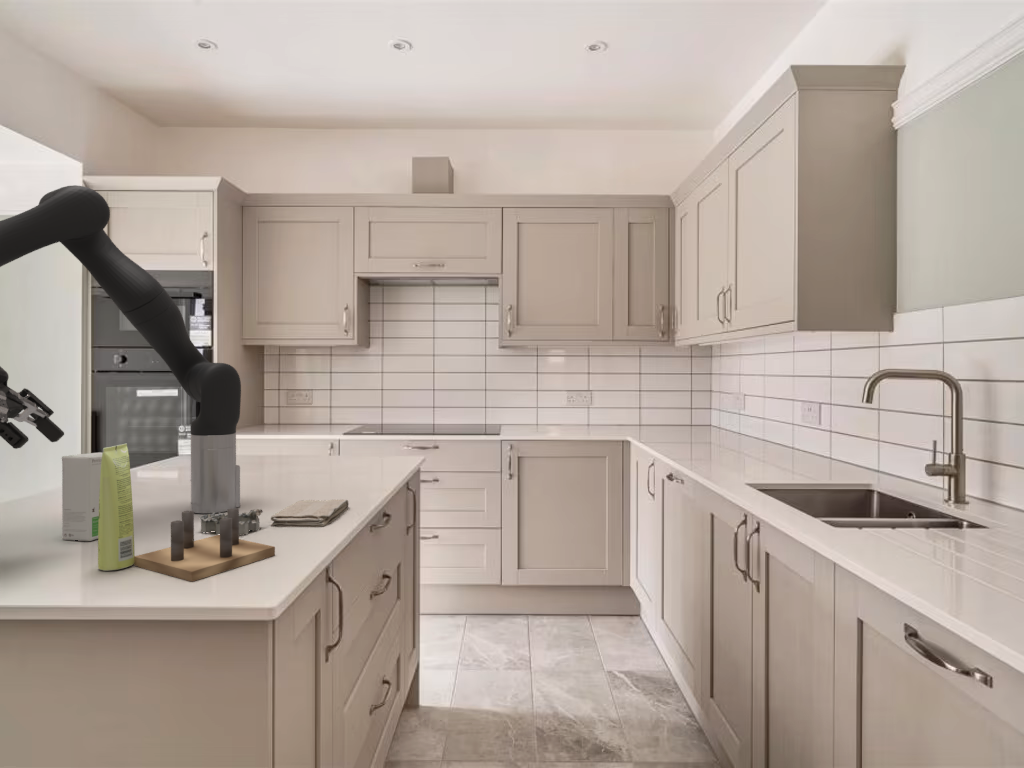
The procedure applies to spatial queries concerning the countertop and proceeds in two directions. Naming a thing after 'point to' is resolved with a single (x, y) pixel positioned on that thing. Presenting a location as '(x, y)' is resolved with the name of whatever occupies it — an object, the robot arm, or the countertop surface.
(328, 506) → the washcloth
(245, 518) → the egg carton
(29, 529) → the countertop surface
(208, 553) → the cradle
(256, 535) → the countertop surface
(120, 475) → the tube
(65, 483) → the skincare box
